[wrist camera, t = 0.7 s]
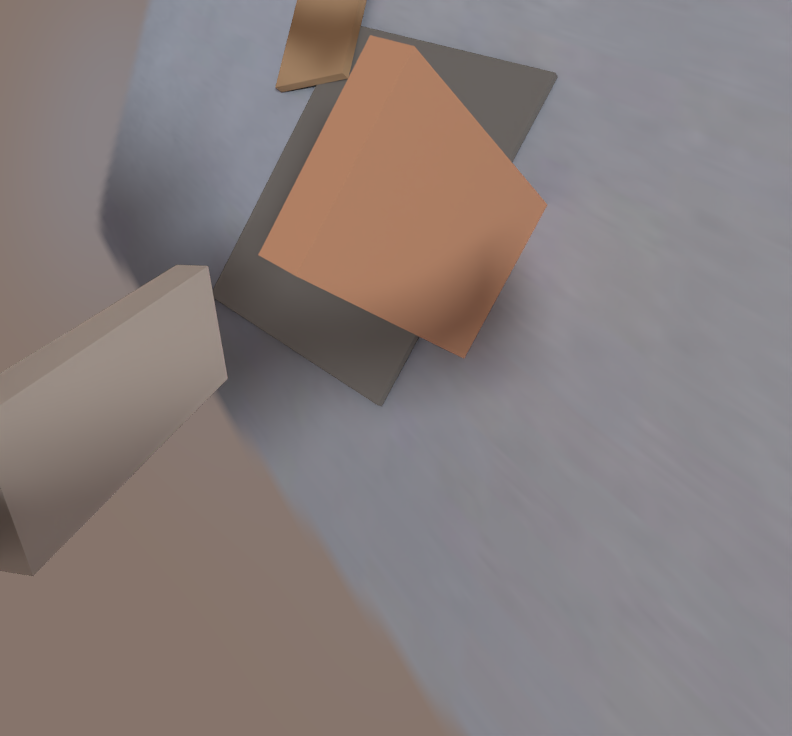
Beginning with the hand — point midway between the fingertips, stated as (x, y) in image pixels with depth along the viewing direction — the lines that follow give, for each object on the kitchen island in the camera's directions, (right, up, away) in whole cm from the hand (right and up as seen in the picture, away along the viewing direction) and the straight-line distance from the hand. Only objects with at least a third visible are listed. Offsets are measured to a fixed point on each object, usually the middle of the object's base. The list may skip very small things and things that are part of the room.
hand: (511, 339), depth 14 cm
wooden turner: (-6, +27, +33) cm, 43 cm away
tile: (+3, +4, +23) cm, 24 cm away
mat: (-4, +10, +28) cm, 30 cm away
